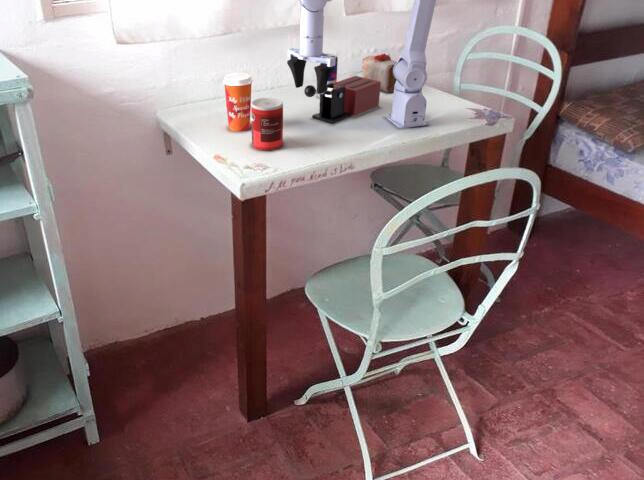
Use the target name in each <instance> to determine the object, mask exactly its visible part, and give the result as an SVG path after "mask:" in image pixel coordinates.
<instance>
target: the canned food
mask: <svg viewBox="0 0 644 480" xmlns="http://www.w3.org/2000/svg"><path fill="white" fill-rule="evenodd" d="M250 118H251V144H252V146H253V147H254V148H255V149H256V150H259V151H264V152H265V151H266V152H269V151H273V150H278V149H280V148H282V146H283V144H284V102H283V101H282V100H281V99H278V98H275V97H274V98H273V97H261V98H256V99H254V100H251V111H250Z"/></svg>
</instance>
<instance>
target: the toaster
mask: <svg viewBox="0 0 644 480" xmlns="http://www.w3.org/2000/svg"><path fill="white" fill-rule="evenodd" d="M380 85H381V82H380V81H376V80H371V79H367V78H363V77H362V76H359V75H353V76H350V77H348V78H343V79H342V80H339V81H337V82H336V83H334V88H337V87H340V86H345V99H344V112H346V113H349V114H351V117H352V118H356V117H359V116H362V115H364V114H367V113H369V112H372V111H374V110H377V109H378V108H380V97H381V90H380Z"/></svg>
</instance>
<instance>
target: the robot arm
mask: <svg viewBox="0 0 644 480" xmlns="http://www.w3.org/2000/svg"><path fill="white" fill-rule="evenodd" d="M331 1H332V0H299V3H301V6H300V23H299V48H293V47H292V48H289V49H287V58H289V59H288V60H287V61H286V64H287V66H288V67H289V70H290V72H291V75H292V78H293V81H294V86H295V88H296V89H298V88H301V87H303V86H304V80H305V69H306V64H307V62H310V63H314V64H318V65H316V66H313V69H314V72H315V76H316V90H317V93H318V94H321V93H324V92H325V88H326V85H327V82H328V79H329V77H330V75H331V73H332V71H333V70H334V68H335V59H336V58H334V57H331V56H329V55H327V54H328V53H325V52H323V50H324V49H323V47H324V25H325V24H324V21H325V20H324V19H325V16H324V8H325V7H326V5H327V3H328V2H329V3H330V2H331ZM436 2H437V0H413V2H412V9H411V12H410V18H409V23H408V27H407V33H406V38H405V43H404V47H403V49H402V50H401V51H400V52H399V56H398V59H397V61H395V62H396V64H395V66H394V68H393V74H394V77H395V78H396V79H397V80H396V83H395V85H394V92H393V94H392V95H393V96H392V106H391V114H385V118H386V119H387V120H388V121H390V122H391V123H392V124H393V125H394V126H396V127H397V128H399V129H406V128H414V127H424V126H428V122H426V120H425V119H426V110H427V104H428V103H427V99H426V97H425V96H424V94H423V87H424V86H425V85H426V82H427V79H428V74H427V57H426V48H427V43H428V39H429V34H430V30H431V25H432V21H433V16H434V11H435V7H436V4H437V3H436ZM319 64H320V65H319ZM318 94H317V95H318Z"/></svg>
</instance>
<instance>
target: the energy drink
mask: <svg viewBox="0 0 644 480" xmlns="http://www.w3.org/2000/svg"><path fill="white" fill-rule="evenodd" d="M326 54H327V55H329V56H331V57H334V58H336V59H335V68H334V70H333V71H332V73H331V75H330V77H329V79H328V82H327V84H329V83H336V82H338V81H337V80H338V65H339V64H338V62H339V61H338V59H339V58H338V55H337V54H335V53H326ZM319 65H320V64H319V63H318V66H319ZM317 97H318V98H320V94H317Z"/></svg>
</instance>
